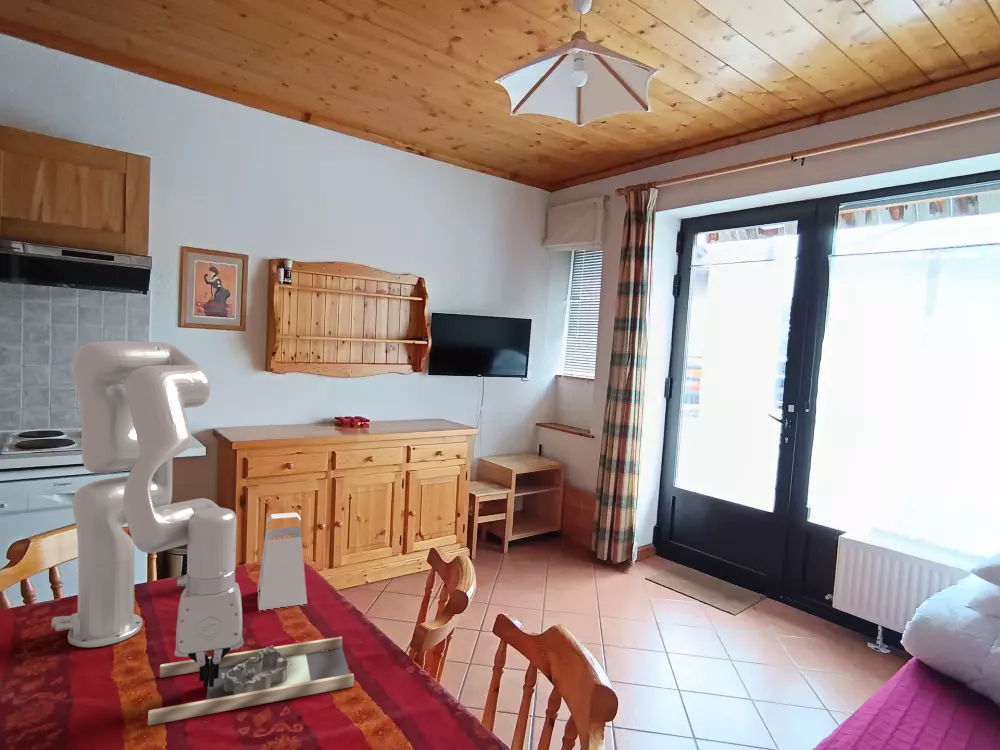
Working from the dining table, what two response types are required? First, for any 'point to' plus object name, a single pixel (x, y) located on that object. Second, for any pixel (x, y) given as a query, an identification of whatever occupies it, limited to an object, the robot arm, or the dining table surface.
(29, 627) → the dining table surface
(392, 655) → the dining table surface
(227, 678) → the egg carton
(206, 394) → the robot arm
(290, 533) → the grater
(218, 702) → the channel
